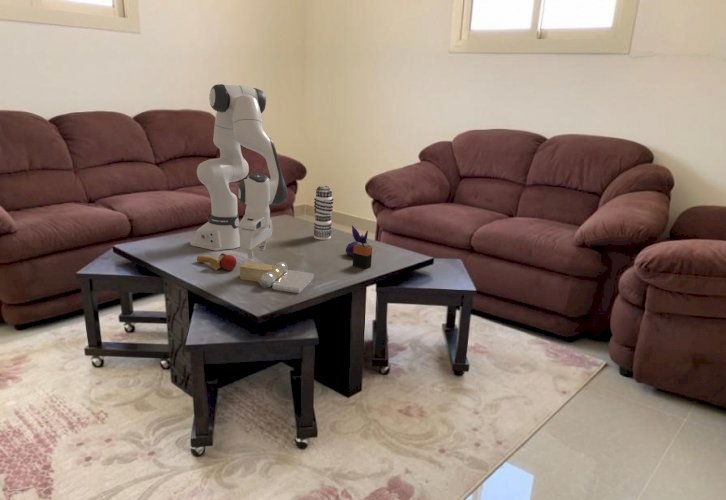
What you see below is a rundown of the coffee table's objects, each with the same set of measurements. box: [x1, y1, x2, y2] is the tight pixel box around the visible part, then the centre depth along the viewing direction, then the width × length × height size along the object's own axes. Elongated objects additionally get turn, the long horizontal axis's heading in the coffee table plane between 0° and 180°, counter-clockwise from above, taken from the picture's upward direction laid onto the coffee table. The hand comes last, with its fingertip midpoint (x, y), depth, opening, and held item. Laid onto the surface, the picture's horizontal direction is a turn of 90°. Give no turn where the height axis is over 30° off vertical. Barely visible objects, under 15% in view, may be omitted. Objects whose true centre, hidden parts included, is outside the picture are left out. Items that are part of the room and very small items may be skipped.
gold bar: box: [239, 261, 284, 283], centre depth 197 cm, size 6×15×5 cm, turn 76°
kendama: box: [196, 252, 237, 271], centre depth 207 cm, size 8×6×18 cm
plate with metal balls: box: [258, 261, 315, 294], centre depth 195 cm, size 16×16×5 cm
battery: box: [352, 242, 373, 270], centre depth 217 cm, size 4×7×10 cm, turn 57°
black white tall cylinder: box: [313, 185, 334, 241], centre depth 251 cm, size 9×9×25 cm
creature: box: [345, 224, 369, 257], centre depth 232 cm, size 9×18×12 cm, turn 155°
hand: (256, 254), depth 196 cm, fingers open, 8 cm apart
